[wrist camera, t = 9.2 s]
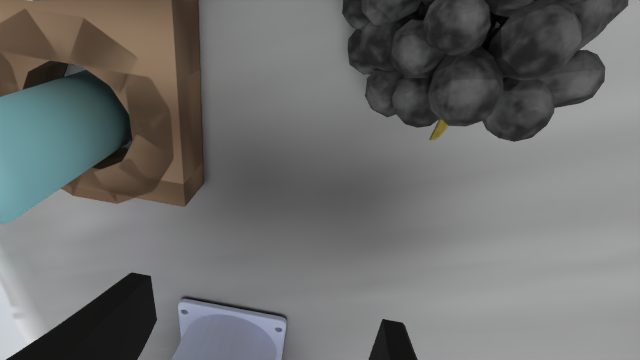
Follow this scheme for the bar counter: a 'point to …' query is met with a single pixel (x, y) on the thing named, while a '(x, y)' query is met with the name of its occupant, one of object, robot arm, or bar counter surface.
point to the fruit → (478, 59)
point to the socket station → (120, 84)
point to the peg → (55, 137)
